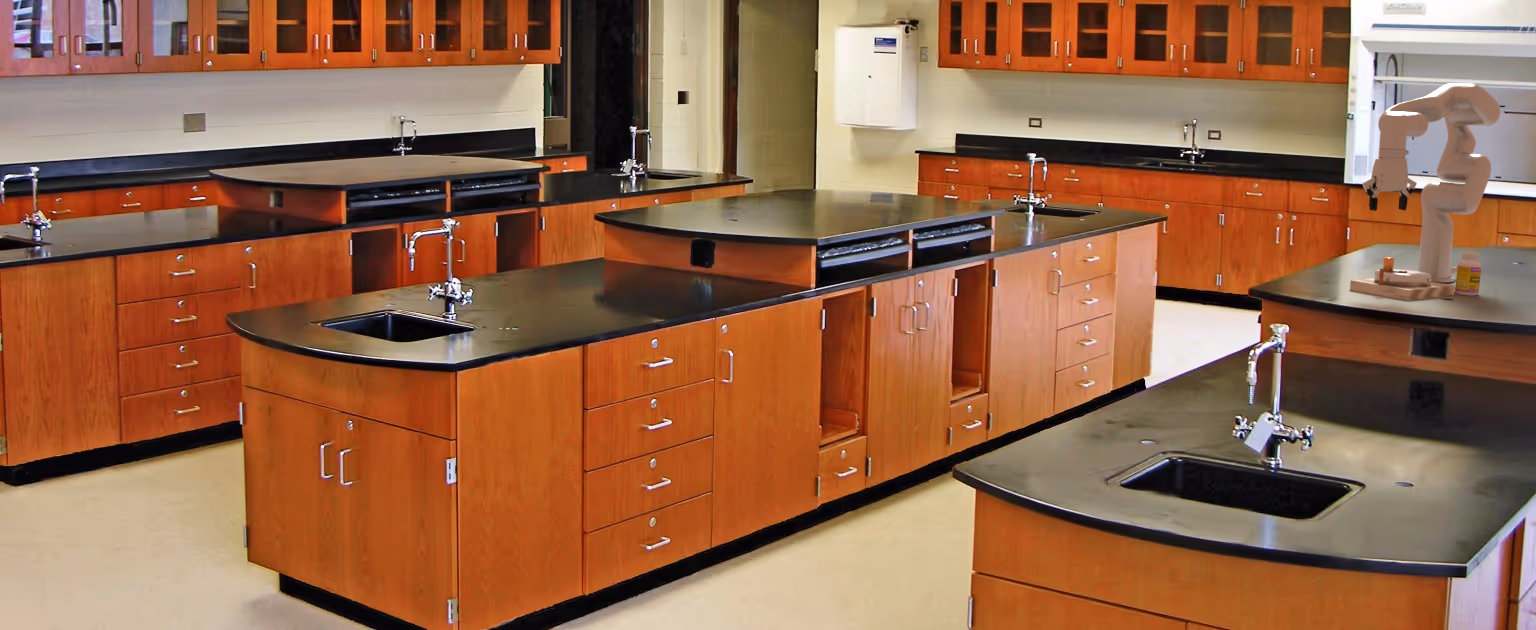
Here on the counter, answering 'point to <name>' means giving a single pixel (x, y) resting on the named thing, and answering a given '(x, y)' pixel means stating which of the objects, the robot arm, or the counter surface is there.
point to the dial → (1402, 276)
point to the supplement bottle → (1468, 274)
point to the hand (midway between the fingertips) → (1387, 210)
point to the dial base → (1401, 289)
